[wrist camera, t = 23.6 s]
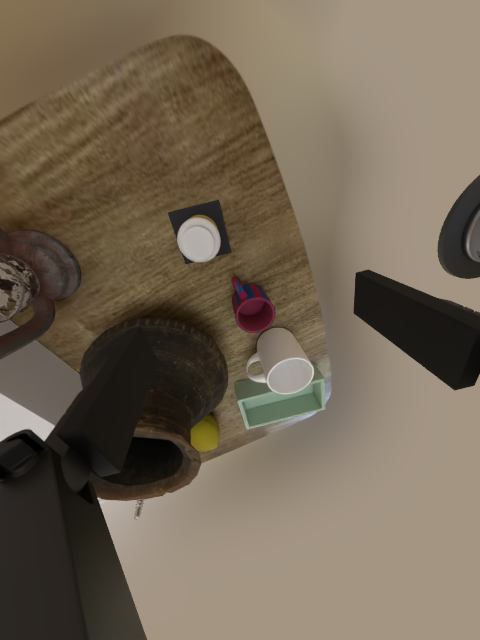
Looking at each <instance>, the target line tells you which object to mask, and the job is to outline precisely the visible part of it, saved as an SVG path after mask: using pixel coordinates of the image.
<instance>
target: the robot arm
mask: <svg viewBox="0 0 480 640" xmlns="http://www.w3.org/2000/svg"><path fill="white" fill-rule="evenodd" d="M461 247H462V251H463V253H464V255H465V256H466V257H467V258H468V259H469V260H472V261H476V262H480V203H479V205H478V206H477V207H476V208H475V210H474V211H473V213H472V214H471V216H470V217H469V219H468V221H467V223H466V225H465V228H464V231H463V234H462V240H461ZM354 314H355V315H357V316H358V317H359V318H361V319H362V320H364V321H365V322H366V323H367V324H368V325H370V326H371V327H372V328H374V329H375V330H376V331H378V332H379V333H380V334H382V335H383V336H384V337H385V338H387V339H388V340H389V341H391V342H392V343H393V344H395V345H396V346H397V347H399V348H400V349H401V350H402V351H404V352H405V353H406V354H408V355H409V356H410V357H412V358H413V359H414V360H416V361H417V362H418V363H420V364H421V365H422V366H423V367H425V368H426V369H427V370H429V371H430V372H431V373H433V374H434V375H435V376H437V377H438V378H439V379H440V380H442V381H443V382H444V383H446V384H447V385H448V386H450V387H451V388H452V389H454V390H458V389H462V388H466V387H470V386H474V385H475V383H476V381H477V378H478V376H479V374H480V313H479V312H474V310H472V309H469V308H467V307H463V306H462V305H459V304H457V303H454V302H452V301H449V300H444V299H439V298H436V297H433V296H431V295H429V294H426V293H424V292H421V291H419V290H416V289H414V288H412V287H409V286H407V285H404V284H402V283H399V282H397V281H395V280H392V279H390V278H387V277H385V276H382V275H380V274H377V273H375V272H373V271H370V270H365V271H362V272H357V273H356V278H355V297H354ZM158 362H159V361H158V359H157V357H156V355H155V353H154V351H153V349H152V348H151V346H150V344H149V342H148V340H147V338H146V336H145V334H144V332H143V330H142V328H141V327H140V326H139V327H135V328H131V329H128V330H127V331H126V332H125V334H124V335H123V337H122V338H121V340H120V341H119V343H118V344H117V346H116V347H115V349H114V350H113V352H112V353H111V354H110V356H109V357H108V359H107V360H106V362H105V363H104V365H103V366H102V368H101V369H100V371H99V372H98V374H97V375H96V376H95V378H94V379H93V381H92V382H91V383H90V384H88V385H87V386H86V387H85V388H84V389H83V390H82V391H80V392H79V393H78V395H77V396H76V398H75V399H74V400H73V402H72V405H70V406H69V407H68V409H67V410H66V413H65V414H63V416H62V417H61V419H60V420H59V421H58V423H57V424H56V426H55V427H54V428H53V430H52V431H51V433H50V434H49V435H48V437H47V438H46V440H45V441H43V440H42V439H41V438H40V437H39V436H38V435H37V434H35V433H34V432H33V431H32V430H31V429H24V430H21V431H18V432H16V433H14V434H12V435H10V436H8V437H7V438H5V439H4V440H2V441H1V442H0V640H147V638H146V635H145V633H144V630H143V627H142V624H141V621H140V618H139V616H138V613H137V610H136V607H135V604H134V601H133V598H132V595H131V592H130V590H129V587H128V584H127V581H126V578H125V575H124V572H123V570H122V567H121V564H120V561H119V558H118V556H117V553H116V550H115V547H114V544H113V541H112V538H111V535H110V533H109V530H108V527H107V524H106V521H105V518H104V515H103V513H102V510H101V507H100V504H99V501H98V498H97V495H96V492H95V490H94V487H93V484H92V483H91V482H90V481H89V480H88V478H89V476H90V474H91V472H92V470H94V471H95V472H96V473H97V474H98V475H100V476H101V477H103V476H107V475H112V474H116V473H120V472H121V470H122V467H123V464H124V461H125V458H126V455H127V452H128V449H129V446H130V443H131V440H132V438H133V435H134V432H135V429H136V426H137V423H138V420H139V417H140V414H141V411H142V408H143V406H144V403H145V400H146V397H147V394H148V391H149V388H150V385H151V382H152V379H153V376H154V373H155V371H156V368H157V365H158Z"/></svg>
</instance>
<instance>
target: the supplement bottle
mask: <svg viewBox="0 0 480 640" xmlns="http://www.w3.org/2000/svg"><path fill="white" fill-rule="evenodd" d="M177 241H178V246H179V248H180V250H181V252H182V253H183V255H184V256H185V257H187V258H188V259H190V260H192V261H194V262H207V261H209V260H211V259H212V258H214V257H215V256H216V254H217V253H218V251H219V248H220V243H221V240H220V235H219V231H218V228H217V226H216V224H215V223H214V221H213V220H212V219H211V218H209V217H207V216H204V215H195V216H193V217H191V218H189V219H188V220H187V221H185V222H184V223H183V224H182V225H181V227H180V229H179V231H178V236H177Z"/></svg>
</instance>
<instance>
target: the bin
mask: <svg viewBox="0 0 480 640" xmlns="http://www.w3.org/2000/svg"><path fill="white" fill-rule="evenodd" d="M311 364H312V366H313V368H314V376H313V378H312V380H311V382H310V383H309V384H308V385H307V386H306V387H305V388H304V389H302V390H300V391H298V392H296V393H292V394H278V393H276V392H274V391H272V390H271V389H270V388H269V386H268V384H267V383H263V382H256V381H253V380H251V379H247V380H243V381H239V382H235V388H236V395H237V401H238V404H239V407H240V410H241V413H242V416H243V419H244V422H245V425H246V428H247V430H248V429H251V428H255V427H259V426H263V425H267V424H271V423H275V422H279V421H282V420H286V419H290V418H294V417H298V416H302V415H306V414H310V413H314V412H317V411H321V410H325V385H324V377H323V376H322V374H321V373H320V371H319V370H318V368H317V367H316V365H315V364H314V362H313V363H311Z"/></svg>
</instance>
